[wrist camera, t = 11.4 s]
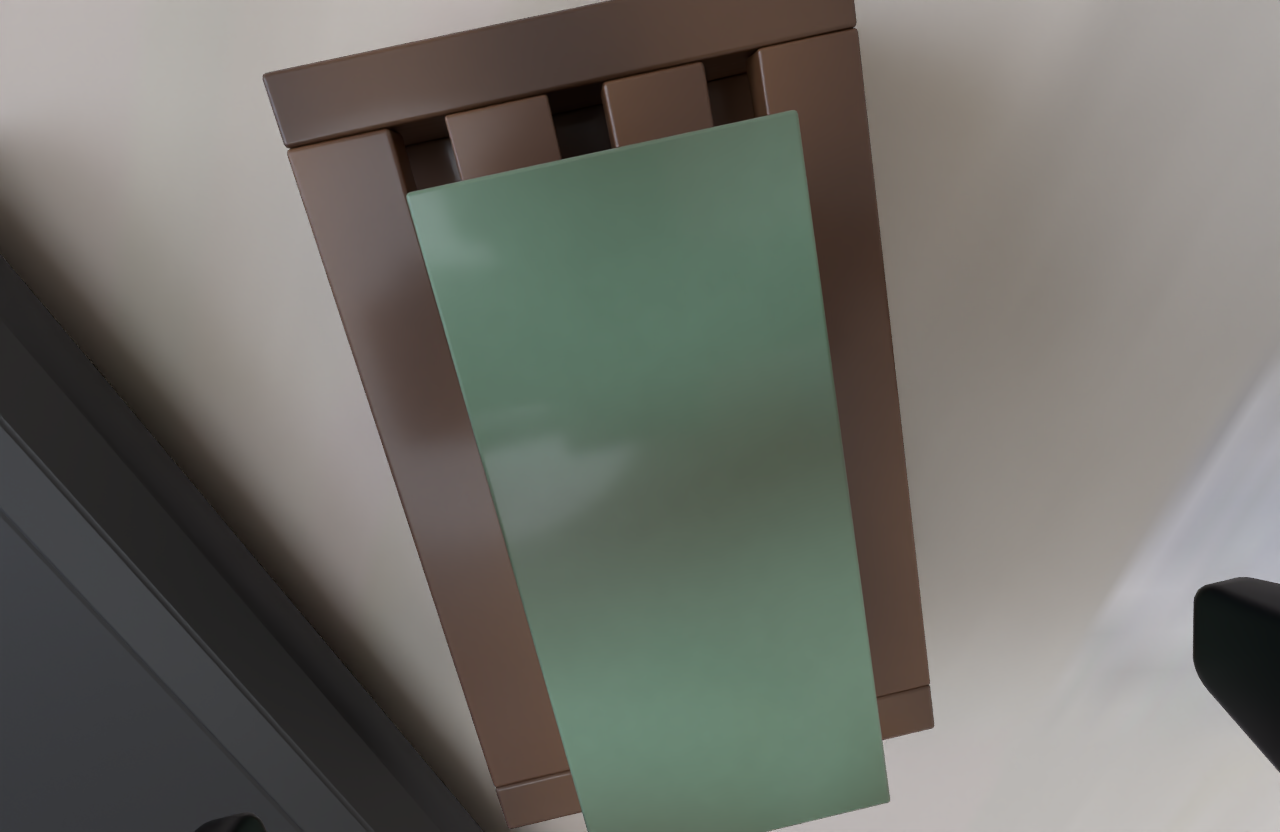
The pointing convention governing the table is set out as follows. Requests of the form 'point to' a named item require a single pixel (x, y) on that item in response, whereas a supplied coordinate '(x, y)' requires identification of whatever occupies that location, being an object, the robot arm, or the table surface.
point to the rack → (554, 130)
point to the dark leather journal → (160, 637)
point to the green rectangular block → (669, 472)
